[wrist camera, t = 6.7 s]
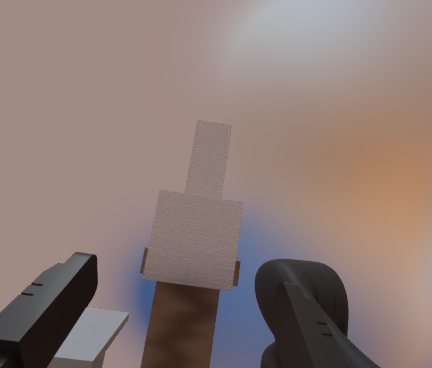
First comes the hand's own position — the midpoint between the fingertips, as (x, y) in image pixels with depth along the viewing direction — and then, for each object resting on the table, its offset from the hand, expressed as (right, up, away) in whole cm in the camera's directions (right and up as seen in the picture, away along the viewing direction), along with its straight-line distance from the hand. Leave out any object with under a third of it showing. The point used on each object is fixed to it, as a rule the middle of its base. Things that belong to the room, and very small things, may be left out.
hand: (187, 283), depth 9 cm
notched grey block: (-1, -2, +8) cm, 9 cm away
